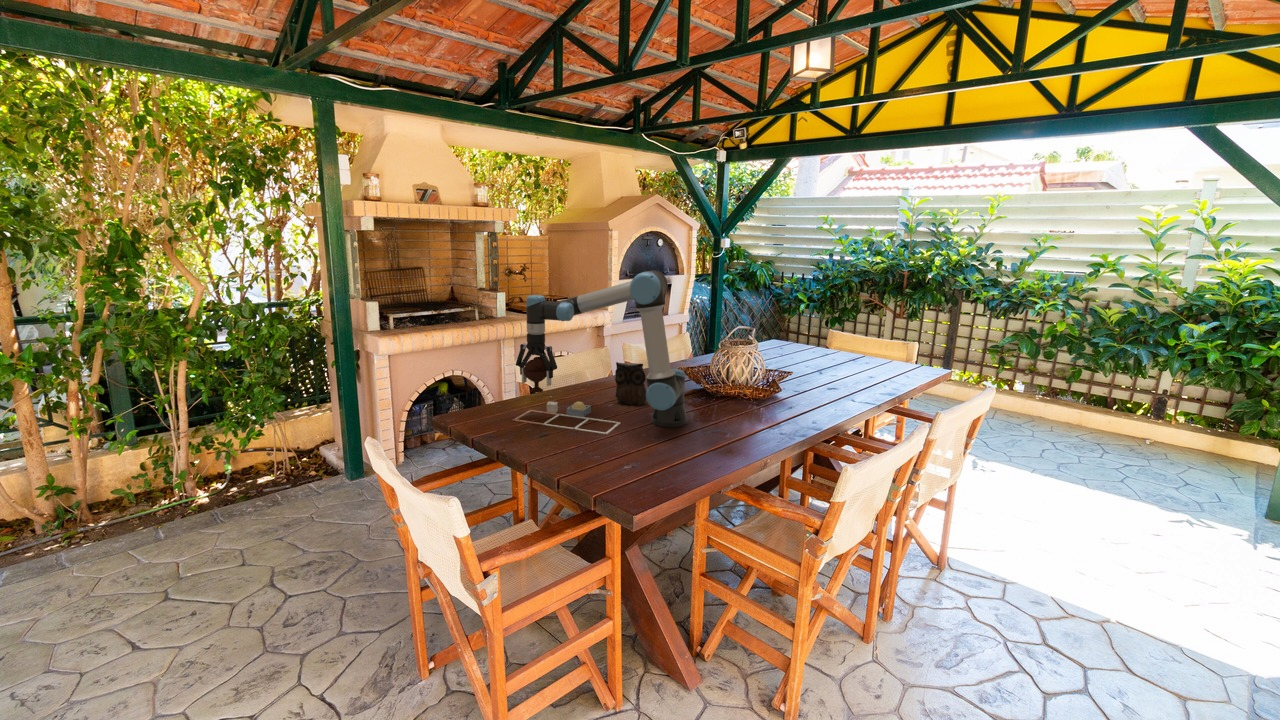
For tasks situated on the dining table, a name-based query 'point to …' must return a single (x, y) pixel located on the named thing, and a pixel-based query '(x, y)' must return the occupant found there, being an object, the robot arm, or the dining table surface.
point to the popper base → (578, 411)
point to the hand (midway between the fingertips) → (536, 384)
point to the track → (567, 427)
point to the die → (552, 407)
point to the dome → (579, 405)
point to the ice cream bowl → (535, 372)
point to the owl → (630, 384)
